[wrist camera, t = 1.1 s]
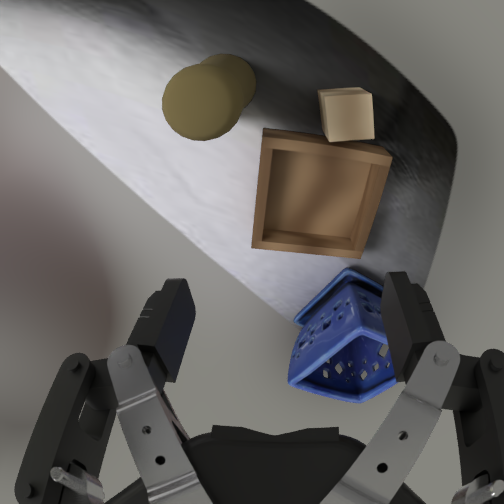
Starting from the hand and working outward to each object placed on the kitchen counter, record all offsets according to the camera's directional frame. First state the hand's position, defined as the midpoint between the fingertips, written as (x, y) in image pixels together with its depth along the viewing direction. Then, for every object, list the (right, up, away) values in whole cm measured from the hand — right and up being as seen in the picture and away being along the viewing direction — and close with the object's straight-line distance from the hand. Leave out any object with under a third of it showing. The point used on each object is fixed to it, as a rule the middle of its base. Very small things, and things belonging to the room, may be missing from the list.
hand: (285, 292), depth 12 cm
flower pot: (+12, -5, +29) cm, 32 cm away
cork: (-4, +17, +13) cm, 22 cm away
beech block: (+7, +15, +14) cm, 22 cm away
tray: (+5, +8, +19) cm, 21 cm away
